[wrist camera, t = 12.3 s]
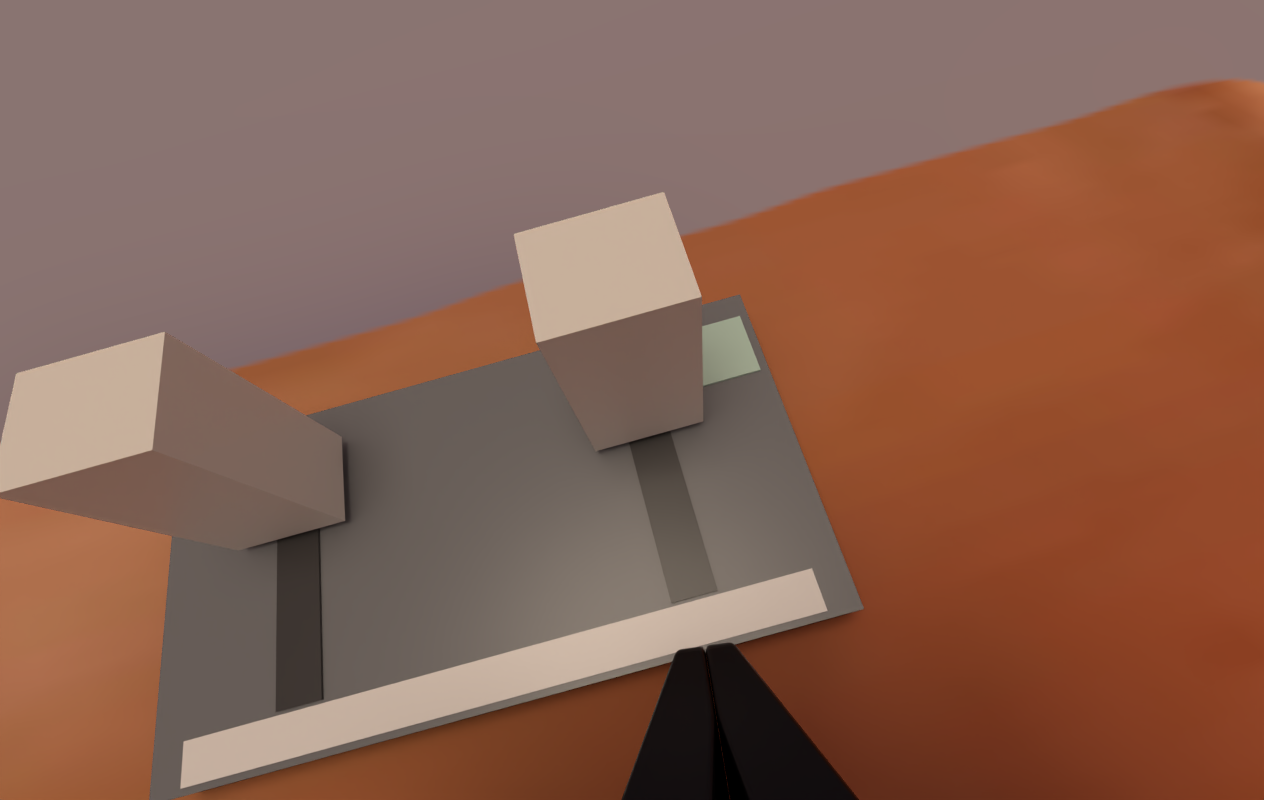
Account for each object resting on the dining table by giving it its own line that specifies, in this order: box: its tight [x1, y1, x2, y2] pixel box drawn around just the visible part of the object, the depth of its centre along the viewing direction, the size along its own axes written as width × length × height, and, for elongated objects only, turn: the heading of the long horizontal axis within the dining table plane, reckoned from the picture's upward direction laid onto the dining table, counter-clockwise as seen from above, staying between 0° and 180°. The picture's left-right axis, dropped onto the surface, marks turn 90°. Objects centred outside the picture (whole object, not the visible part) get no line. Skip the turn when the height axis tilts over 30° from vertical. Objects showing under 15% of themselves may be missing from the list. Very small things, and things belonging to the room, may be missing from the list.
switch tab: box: [0, 332, 345, 550], centre depth 16 cm, size 3×4×7 cm
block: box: [514, 192, 703, 451], centre depth 16 cm, size 3×4×7 cm
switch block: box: [149, 295, 864, 800], centre depth 20 cm, size 11×21×2 cm, turn 104°
